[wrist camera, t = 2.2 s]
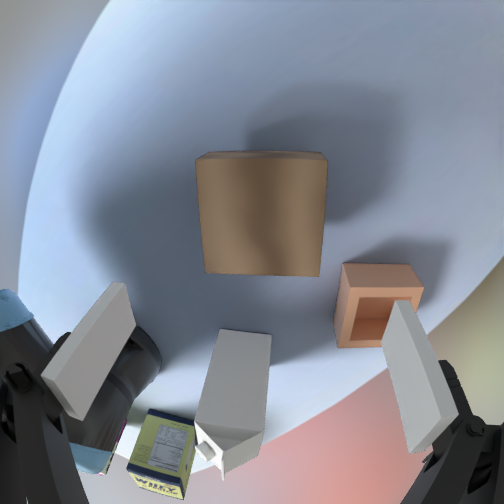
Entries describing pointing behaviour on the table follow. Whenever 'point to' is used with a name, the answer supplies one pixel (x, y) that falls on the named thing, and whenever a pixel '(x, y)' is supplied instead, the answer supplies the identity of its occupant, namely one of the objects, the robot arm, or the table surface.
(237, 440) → the milk carton
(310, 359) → the table surface
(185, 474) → the protein box
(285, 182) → the brown box
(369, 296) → the open square box
